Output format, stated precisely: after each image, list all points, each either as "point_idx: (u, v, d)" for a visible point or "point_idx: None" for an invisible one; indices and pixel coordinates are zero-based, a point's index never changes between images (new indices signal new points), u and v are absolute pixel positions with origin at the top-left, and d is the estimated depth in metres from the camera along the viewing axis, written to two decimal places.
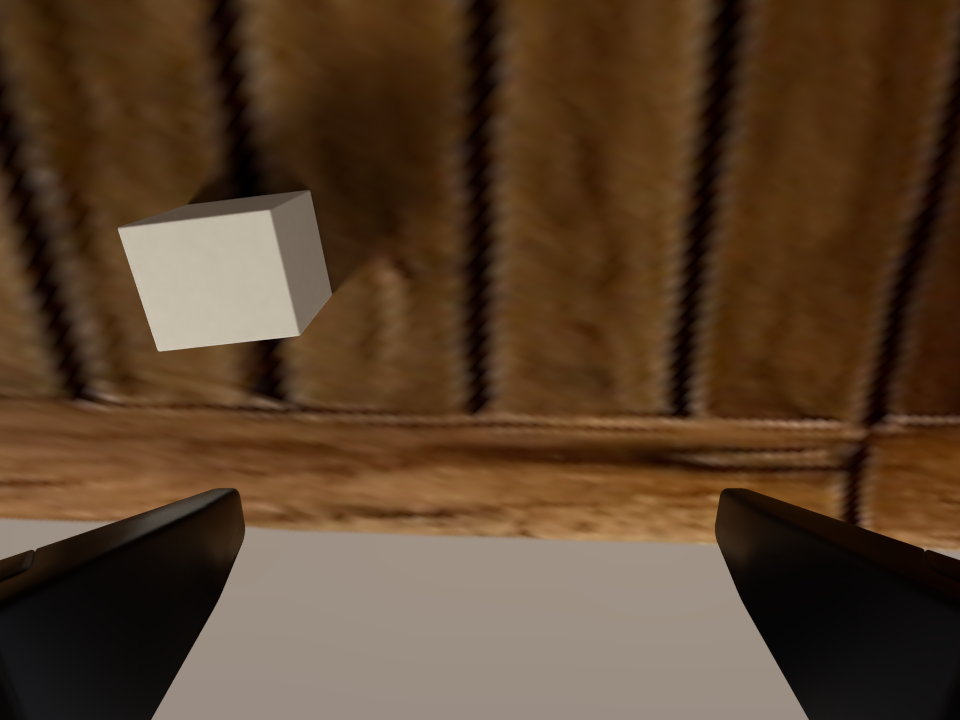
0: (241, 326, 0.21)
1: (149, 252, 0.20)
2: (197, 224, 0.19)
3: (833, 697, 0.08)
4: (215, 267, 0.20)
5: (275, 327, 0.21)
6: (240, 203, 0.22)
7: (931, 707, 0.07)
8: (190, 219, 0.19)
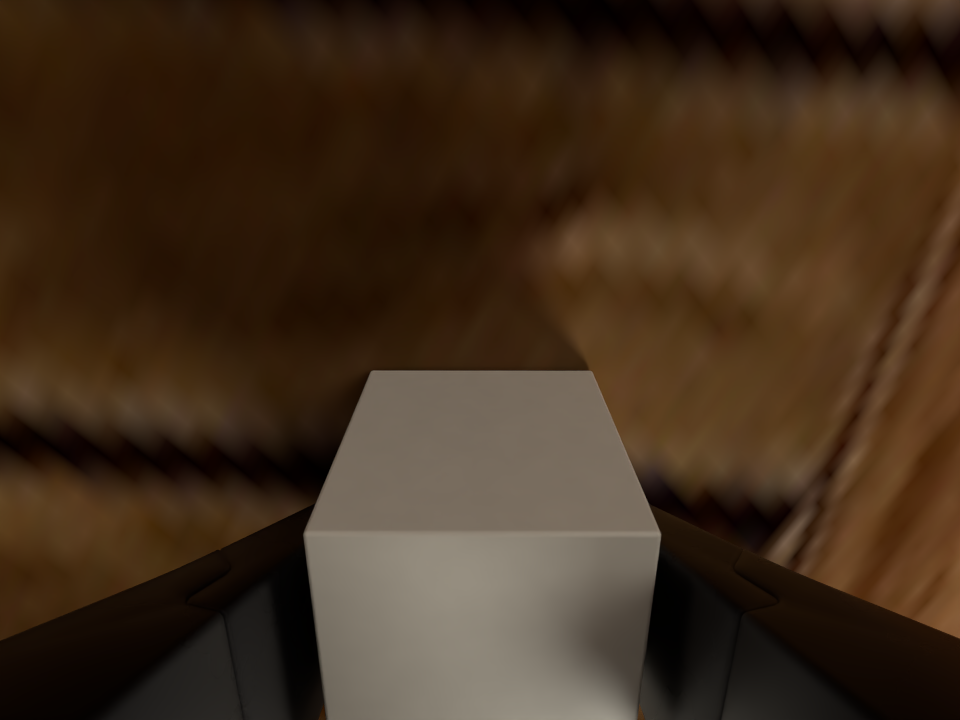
0: (603, 655, 0.08)
1: None
2: (334, 683, 0.08)
3: (658, 697, 0.08)
4: (443, 672, 0.08)
5: (623, 585, 0.08)
6: None
7: (715, 707, 0.07)
8: (323, 693, 0.08)
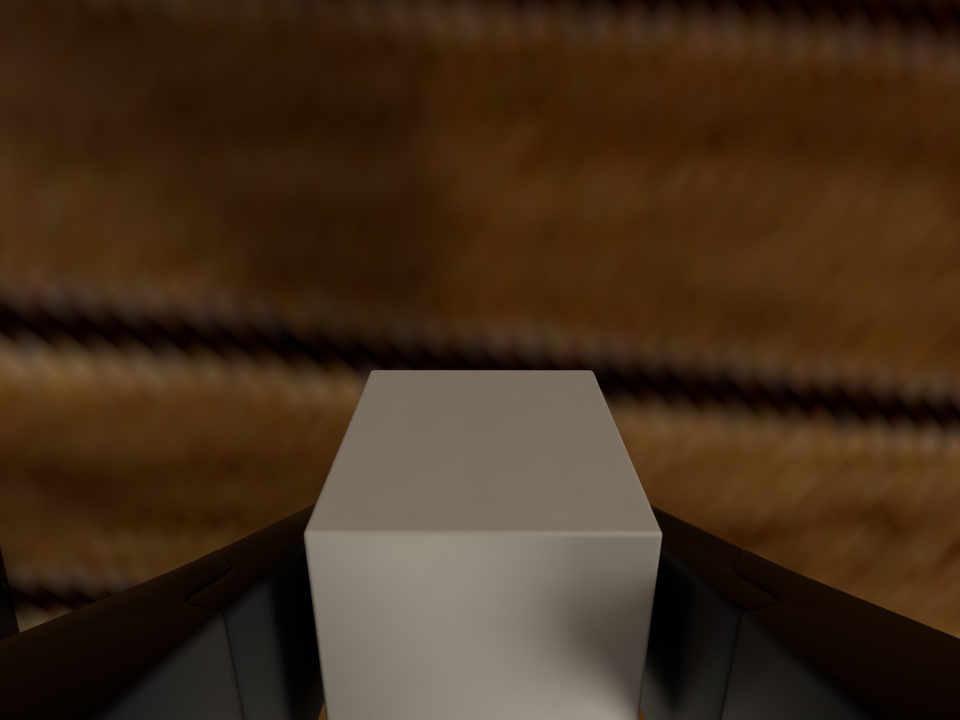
0: (604, 655, 0.08)
1: None
2: (335, 683, 0.08)
3: (658, 697, 0.08)
4: (443, 672, 0.08)
5: (624, 585, 0.08)
6: None
7: (716, 707, 0.07)
8: (324, 693, 0.08)
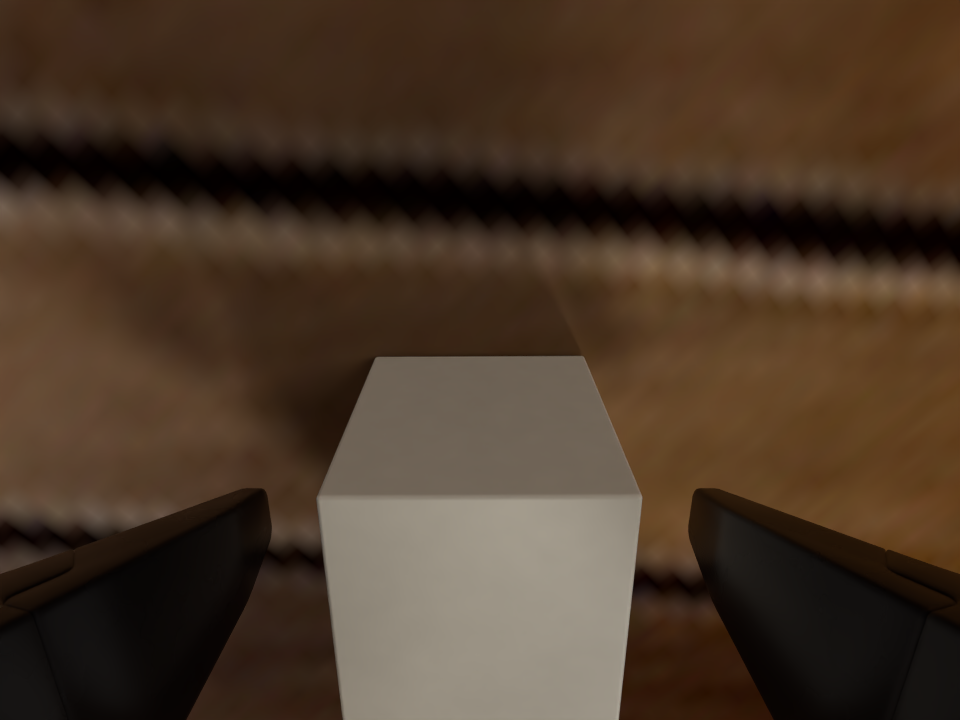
0: (591, 610, 0.09)
1: None
2: (345, 638, 0.09)
3: (795, 697, 0.08)
4: (444, 627, 0.09)
5: (608, 544, 0.08)
6: None
7: (885, 707, 0.07)
8: (334, 648, 0.09)
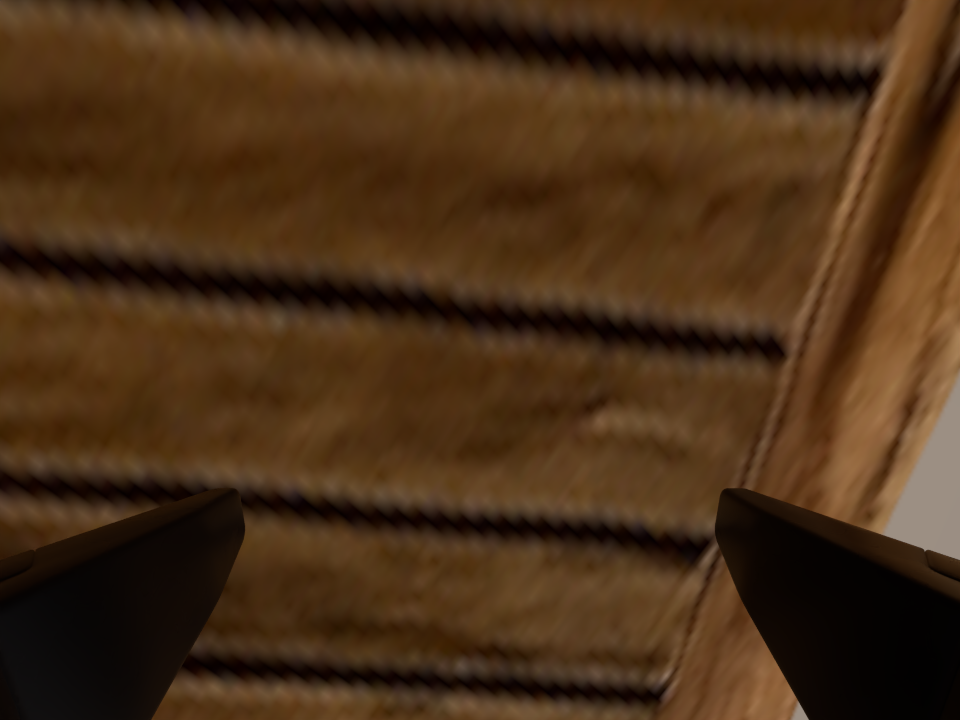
0: None
1: None
2: None
3: (833, 697, 0.08)
4: None
5: None
6: None
7: (931, 707, 0.07)
8: None
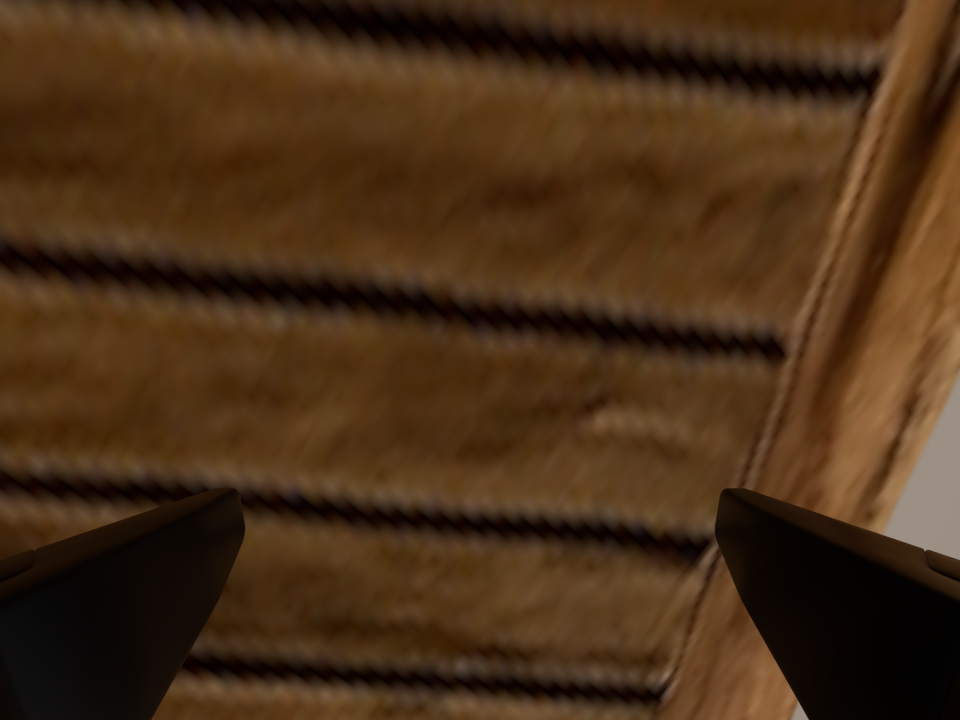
0: None
1: None
2: None
3: (833, 697, 0.08)
4: None
5: None
6: None
7: (931, 707, 0.07)
8: None
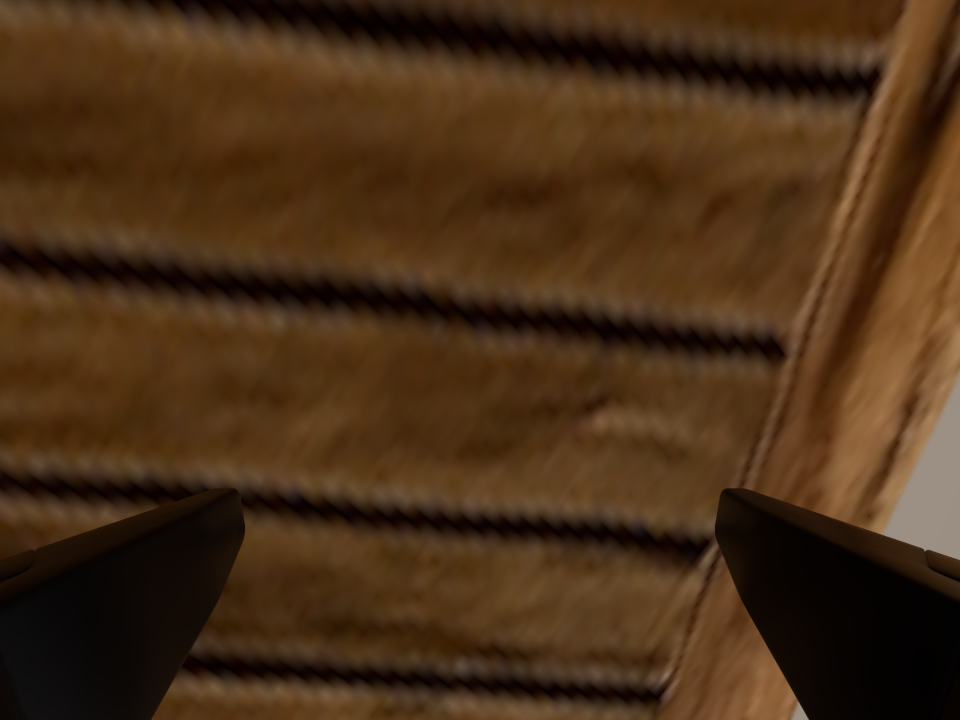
0: None
1: None
2: None
3: (833, 697, 0.08)
4: None
5: None
6: None
7: (931, 707, 0.07)
8: None
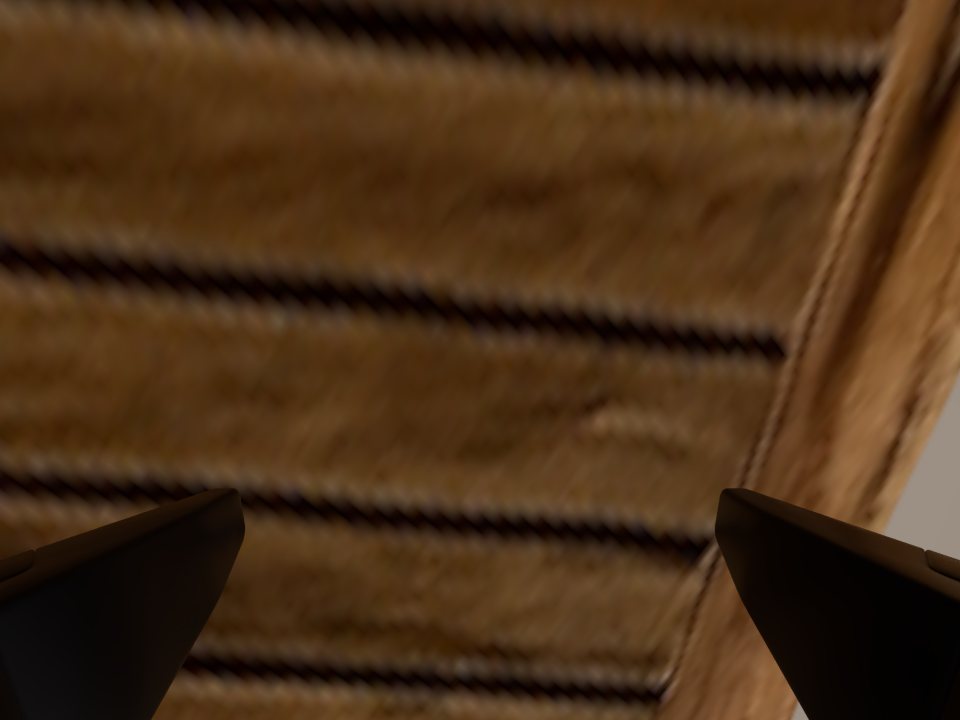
0: None
1: None
2: None
3: (833, 697, 0.08)
4: None
5: None
6: None
7: (931, 707, 0.07)
8: None
